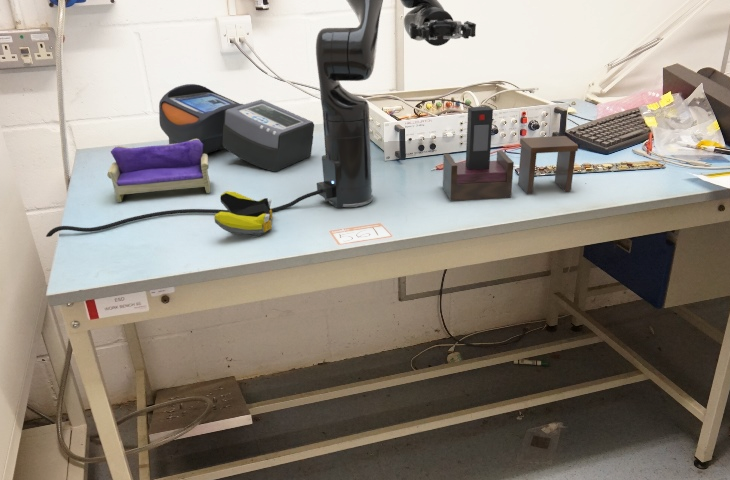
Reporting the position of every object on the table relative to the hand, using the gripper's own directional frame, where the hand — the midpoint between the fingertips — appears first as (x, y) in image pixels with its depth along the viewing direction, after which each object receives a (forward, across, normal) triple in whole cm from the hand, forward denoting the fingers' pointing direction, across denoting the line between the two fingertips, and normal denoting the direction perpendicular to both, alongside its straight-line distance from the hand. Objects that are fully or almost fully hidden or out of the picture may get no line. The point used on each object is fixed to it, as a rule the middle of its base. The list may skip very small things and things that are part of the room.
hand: (447, 33), depth 137 cm
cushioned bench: (+14, +4, +30) cm, 34 cm away
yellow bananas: (+27, -44, +30) cm, 60 cm away
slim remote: (+14, +4, +24) cm, 29 cm away
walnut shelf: (+14, +20, +30) cm, 38 cm away
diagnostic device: (-24, -49, +30) cm, 63 cm away
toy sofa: (+3, -64, +30) cm, 71 cm away
